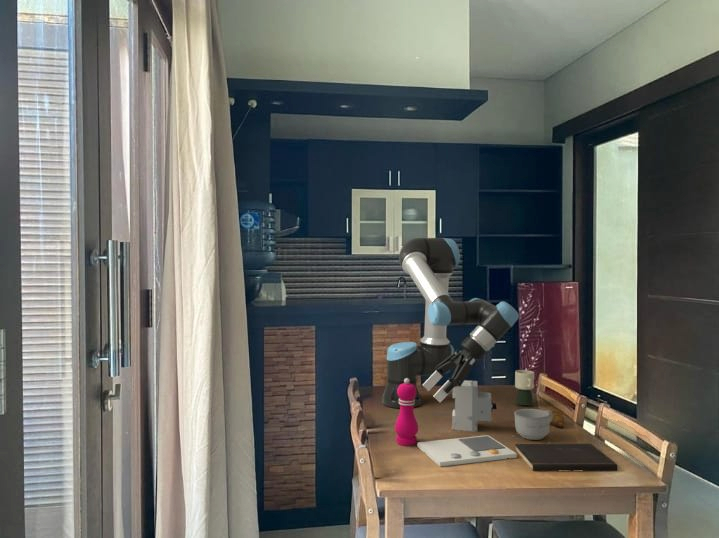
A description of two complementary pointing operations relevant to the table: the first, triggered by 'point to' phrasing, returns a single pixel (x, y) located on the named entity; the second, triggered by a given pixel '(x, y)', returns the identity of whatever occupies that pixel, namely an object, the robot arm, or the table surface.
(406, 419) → the pepper mill
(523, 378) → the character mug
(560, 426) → the croissant
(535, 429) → the teacup
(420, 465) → the table surface
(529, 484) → the table surface
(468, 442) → the board
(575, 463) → the hardcover book
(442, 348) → the robot arm
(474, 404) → the circuit breaker
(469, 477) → the table surface
